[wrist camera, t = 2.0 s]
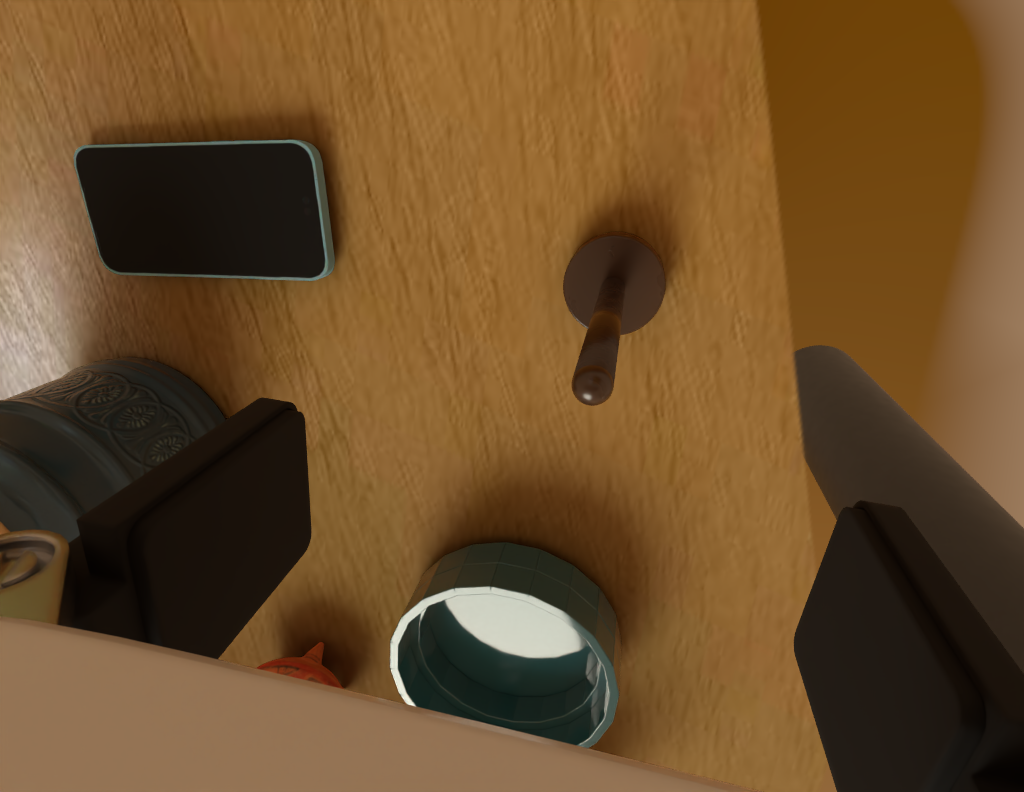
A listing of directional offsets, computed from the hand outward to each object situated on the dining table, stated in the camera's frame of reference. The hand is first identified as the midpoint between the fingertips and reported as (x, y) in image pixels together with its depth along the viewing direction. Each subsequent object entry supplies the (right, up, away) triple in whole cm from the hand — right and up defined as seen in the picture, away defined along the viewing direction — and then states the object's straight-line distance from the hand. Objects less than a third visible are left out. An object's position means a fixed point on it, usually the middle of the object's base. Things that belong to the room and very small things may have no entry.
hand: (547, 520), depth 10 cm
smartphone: (-18, +13, +23) cm, 32 cm away
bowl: (0, -13, +30) cm, 33 cm away
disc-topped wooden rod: (+5, +8, +20) cm, 22 cm away
